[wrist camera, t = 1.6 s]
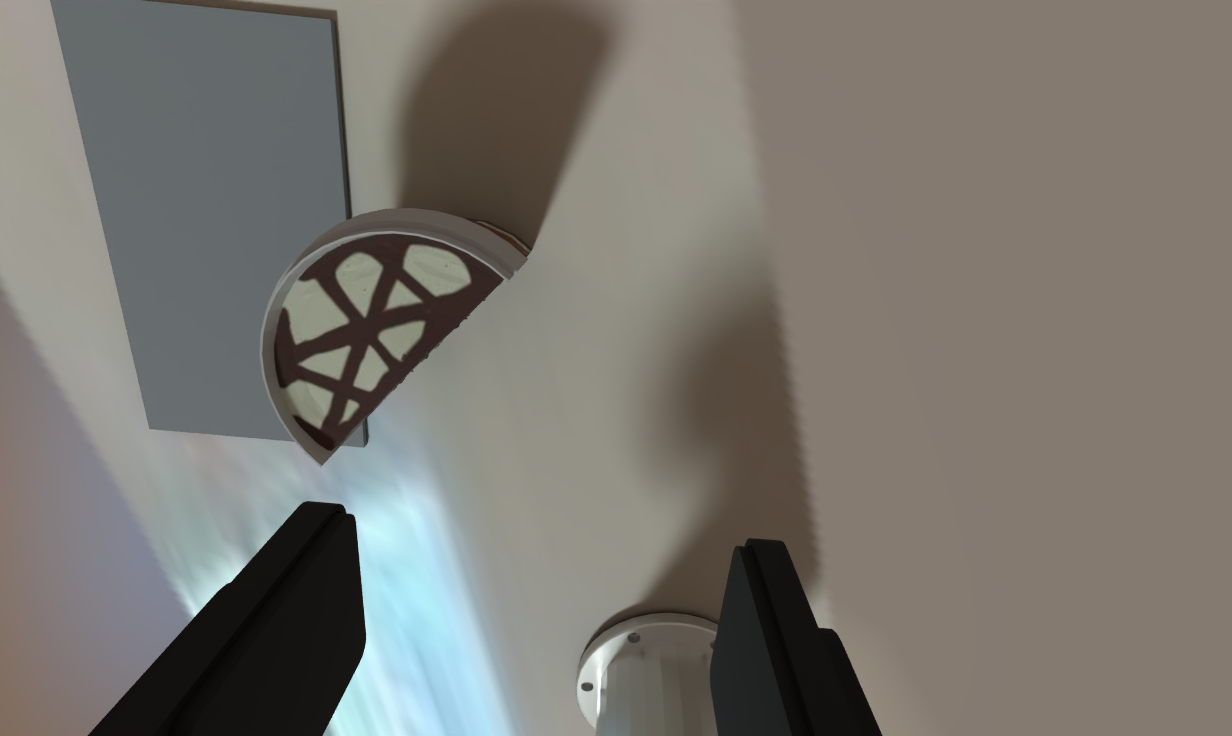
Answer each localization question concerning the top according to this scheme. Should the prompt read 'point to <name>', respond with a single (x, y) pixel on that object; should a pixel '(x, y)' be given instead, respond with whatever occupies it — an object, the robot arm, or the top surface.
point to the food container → (372, 313)
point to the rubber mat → (205, 187)
